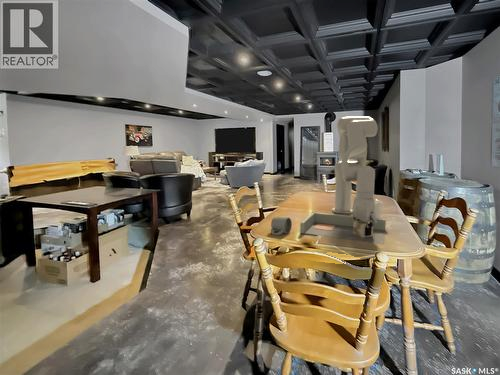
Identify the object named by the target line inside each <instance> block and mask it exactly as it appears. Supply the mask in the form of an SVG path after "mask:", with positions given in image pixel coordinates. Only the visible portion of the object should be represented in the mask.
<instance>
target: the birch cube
mask: <svg viewBox="0 0 500 375" xmlns="http://www.w3.org/2000/svg"><path fill="white" fill-rule="evenodd" d="M368 224H369V222H368ZM365 227H366V223H365V221H362V220H359V221H354V224H353V234H355V235H357V236H360V237H369V236H365ZM370 236H373V227H372V232H371V235H370Z"/></svg>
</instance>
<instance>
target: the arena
mask: <svg viewBox="0 0 500 375" xmlns="http://www.w3.org/2000/svg"><path fill="white" fill-rule="evenodd" d="M376 220H377V223H375V224H374V225H373V236H369V237H360V236H357V235H355V234H353V224H354V218H353V216H352V215H346V214H345V215H344V214H335V213H324V212H315V211H313V212H311V213H310V214H309V215H308V216H306V217H305V218H304V219H303V220H302V221H301V222H300V227H299V228H300V229H299V230H300V231H299V234H301V235H306V236H307V235H308V236H315V237H318V236H321V237H329V238H336V239H337V238H338V239H343V240H351V241H358V242H366V243H373V244H380V245H384V243H385V236H386V235H385V234H386V224H387V223H386V222H387V220H386V219H384V218H380V219H376Z"/></svg>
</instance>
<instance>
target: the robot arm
mask: <svg viewBox="0 0 500 375" xmlns="http://www.w3.org/2000/svg"><path fill="white" fill-rule="evenodd" d="M336 124H337V125H336V126H337V131H338V134H339V143H338V151H337V152H338V154H337V155H338V158H339V159H340V161H337V162H335V164H334V167H333V168H334V178H335V185H334V186H335V187H334V189H335V190H334V191H335V192H334V207H332V209H331V211H332V212H334V213H337V214H343V215H344V214H345V215H346V214H351V216H353V218H354V221H359V220H362V221H365V223H366V227H365V236H370V235H371V232H372V227H373V225H374V224H375V223H377V220H376V218H375V202H374V200H375V199H374V197H375V180H376V170H375V168H373V167H371V166H370V165H366V164H367V156H368V142H367V138H372V137H375V136H377V134H378V131H379V130H378V128H379V127H378V123H377V122H376V120H375V119H374V118H372V117H371V116H345V117H344V116H343V117H340V118H339V119H338V120H337V123H336ZM352 182H356V186H355V190H356V191H355V197H353V198H354V199H353V202H352V188H353V187H352ZM368 222H369V224H368Z"/></svg>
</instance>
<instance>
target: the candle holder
mask: <svg viewBox="0 0 500 375" xmlns="http://www.w3.org/2000/svg"><path fill="white" fill-rule="evenodd" d="M374 202H375V218H376V219H382V218H381V216H382V211H383V210H382V209H383V204H384V203H383V201H382V200H378V199H374Z"/></svg>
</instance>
